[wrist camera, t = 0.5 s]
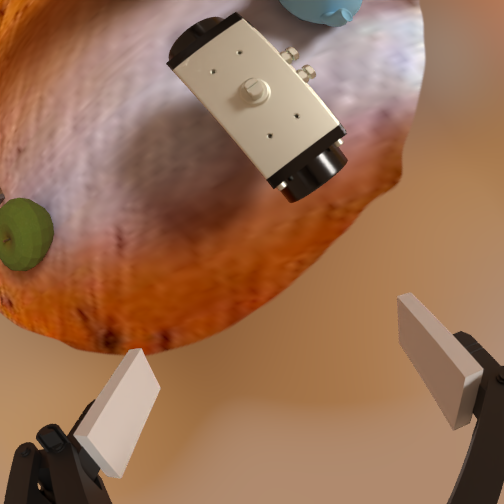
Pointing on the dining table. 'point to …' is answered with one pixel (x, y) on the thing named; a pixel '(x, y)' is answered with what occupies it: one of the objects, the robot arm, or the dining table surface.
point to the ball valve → (261, 102)
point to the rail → (1, 196)
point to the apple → (24, 234)
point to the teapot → (323, 10)
